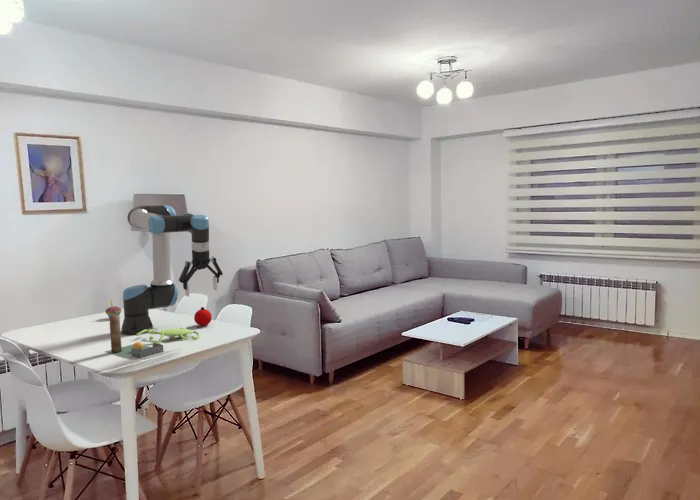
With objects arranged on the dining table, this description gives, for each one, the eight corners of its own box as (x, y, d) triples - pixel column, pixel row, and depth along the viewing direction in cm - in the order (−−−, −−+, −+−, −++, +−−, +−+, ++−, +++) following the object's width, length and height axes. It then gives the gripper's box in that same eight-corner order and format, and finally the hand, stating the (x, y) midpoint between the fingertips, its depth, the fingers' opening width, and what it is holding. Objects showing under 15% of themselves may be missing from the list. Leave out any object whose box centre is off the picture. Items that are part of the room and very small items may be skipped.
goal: (131, 357, 216) (131, 348, 215) (154, 351, 224) (154, 342, 224) (140, 360, 212) (139, 351, 211) (163, 353, 221) (163, 344, 220)
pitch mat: (104, 354, 222) (103, 351, 222) (137, 345, 235) (137, 343, 235) (124, 360, 213) (123, 357, 213) (158, 350, 226) (157, 348, 225)
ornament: (209, 327, 266) (208, 308, 265) (192, 327, 266) (191, 309, 266) (214, 323, 275) (213, 305, 274) (197, 323, 275) (196, 305, 275)
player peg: (109, 352, 221) (107, 316, 220) (118, 350, 224) (116, 314, 223) (114, 353, 219) (112, 317, 217) (123, 351, 222) (121, 315, 220)
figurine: (135, 340, 245) (134, 329, 244) (190, 331, 260) (189, 321, 259) (144, 349, 230) (144, 337, 229) (202, 339, 245) (202, 327, 244)
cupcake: (117, 320, 287) (116, 299, 286) (102, 320, 288) (101, 299, 286) (124, 316, 296) (123, 296, 295) (110, 317, 296) (108, 296, 295)
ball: (131, 351, 222) (130, 342, 221) (139, 349, 225) (139, 340, 225) (136, 352, 219) (136, 343, 219) (145, 350, 223) (144, 341, 222)
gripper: (176, 256, 218) (178, 301, 225) (229, 247, 233) (229, 289, 240) (170, 251, 223) (172, 295, 230) (222, 243, 239) (222, 284, 246)
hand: (201, 292), depth 235 cm, fingers open, 13 cm apart
